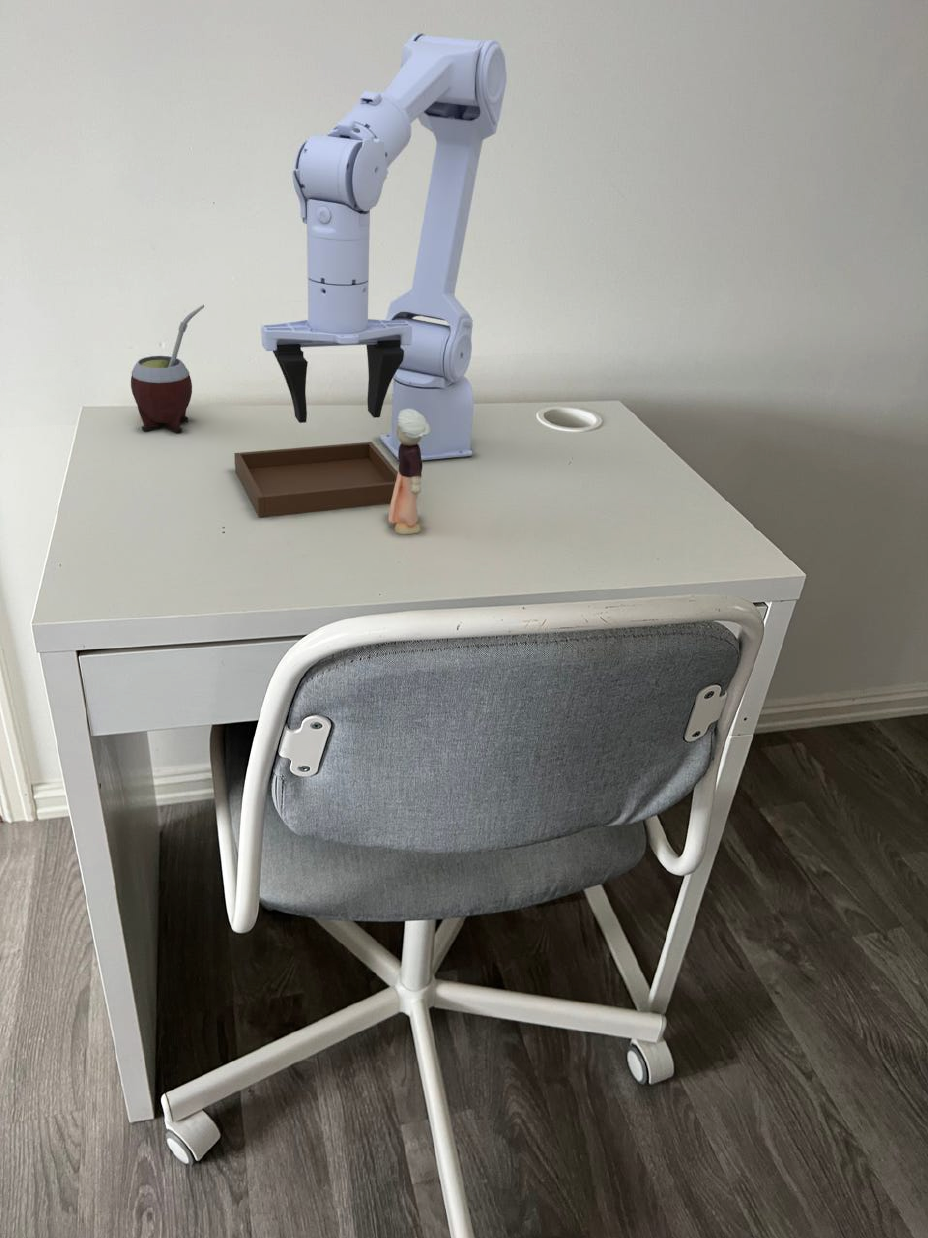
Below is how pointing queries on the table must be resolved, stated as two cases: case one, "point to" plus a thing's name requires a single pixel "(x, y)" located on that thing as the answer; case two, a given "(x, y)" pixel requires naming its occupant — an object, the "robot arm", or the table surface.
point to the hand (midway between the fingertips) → (337, 416)
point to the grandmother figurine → (408, 472)
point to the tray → (315, 478)
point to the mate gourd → (163, 387)
